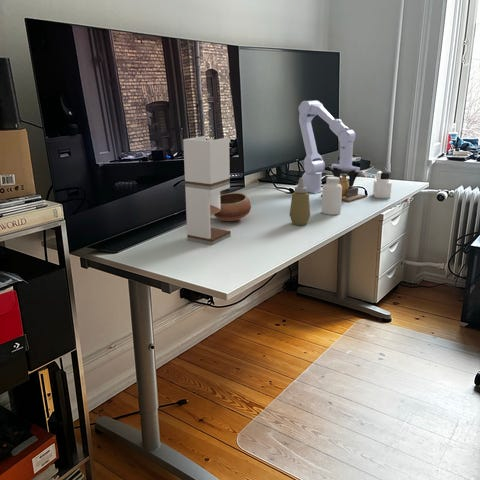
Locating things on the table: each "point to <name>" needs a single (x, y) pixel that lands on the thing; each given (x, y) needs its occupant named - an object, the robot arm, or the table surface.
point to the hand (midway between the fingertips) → (344, 185)
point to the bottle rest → (352, 195)
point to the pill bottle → (331, 196)
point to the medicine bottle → (382, 185)
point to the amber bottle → (344, 184)
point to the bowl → (233, 207)
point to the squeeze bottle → (300, 205)
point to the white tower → (205, 186)
